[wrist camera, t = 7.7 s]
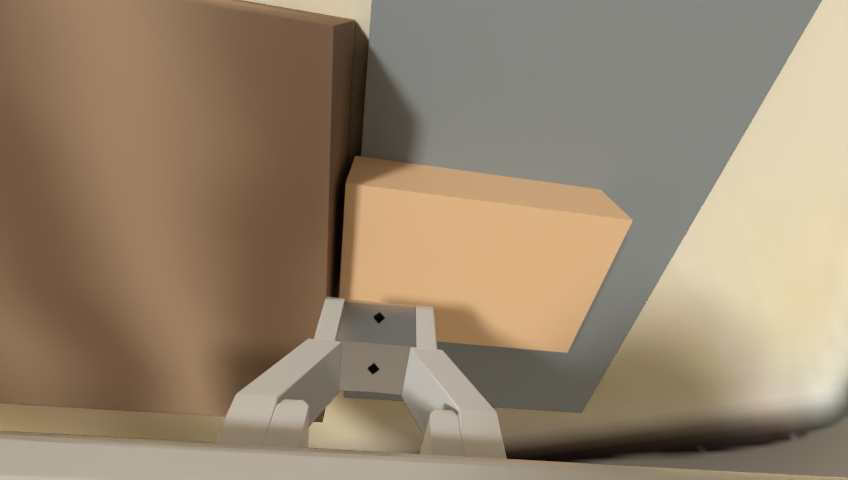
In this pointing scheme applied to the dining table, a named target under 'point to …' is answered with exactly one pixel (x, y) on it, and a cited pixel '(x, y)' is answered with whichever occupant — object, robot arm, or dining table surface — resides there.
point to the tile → (478, 250)
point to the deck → (166, 196)
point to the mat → (576, 132)
